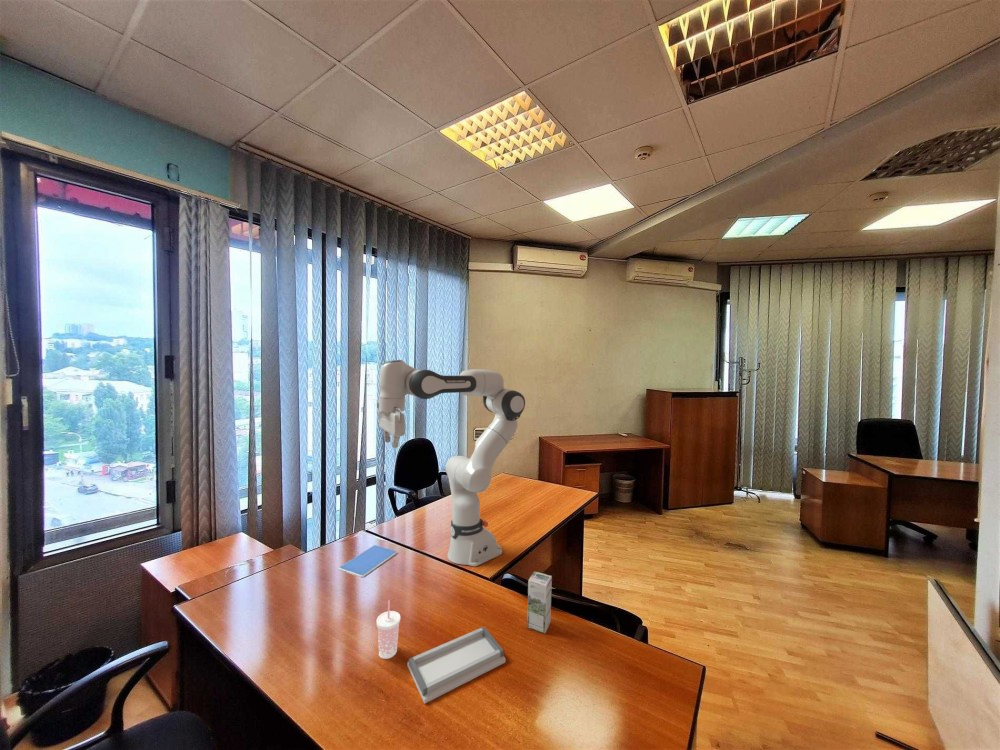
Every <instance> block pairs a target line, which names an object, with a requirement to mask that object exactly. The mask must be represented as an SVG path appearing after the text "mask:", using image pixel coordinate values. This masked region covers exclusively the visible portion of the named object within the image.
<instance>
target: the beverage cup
mask: <svg viewBox="0 0 1000 750" xmlns="http://www.w3.org/2000/svg"><path fill="white" fill-rule="evenodd" d="M390 604H391V600H390V599H387V611H385V612H382V613H380V614H379V615H378V616H377V618H376V627H377V635H378V636H377V639H378V640H377V641H378V656H379V657H380V658H381V659H384V660H385V659H386V660H387V659H391V658H393V657H394V656H395V655H396V654H397V652H398V640H399V630H400V628H399V627H400V622H401V614H400V612H397V611H395V610H390V608H391V605H390Z"/></svg>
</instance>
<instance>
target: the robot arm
mask: <svg viewBox="0 0 1000 750" xmlns="http://www.w3.org/2000/svg"><path fill="white" fill-rule="evenodd" d="M379 370H380V371H379V384H378V386H379V390H380V392H379V396H378V402H376V409H377V412H378V413H377V414H378V425H379V428H380V429H381V430H383V431H382V432H383V436H384V442H385V443H390V442H391V441H392V442H391V447H393V448H394V449H396V448H397V449H398V448H399V443H400V439H401V437H404V436H405V434H406V419H405V418H406V417H405V414H404V413H403V412H404V411H406V410H405V409H406V395H411V396H413V397H417V398H419V399H422V400H430V399H432V398H435V397H437V396H439V395H441V394H451V393H453V394H454V393H456V394H457V393H460V394H461V395H463V396H468V397H482V404H483V407H484V408H485V409H486V410H487V411H488V412H491V413H495V415H494V418H493V420H492V422H491V423H490V424H489V425H488V426H487V427H486V428H485V430H483V432H482V433H481V435H479V437H478V438H477V440H476V441H475V442H474V450H473V452H472V454H471V456H470V457H467V456H464V455H454V456H451V457H450V458H449V459H448V460H447V461H446V464H445V468H444V470H445V473H446V475H447V478H448V482H449V484H448V485H449V487H450V495H451V499H452V500H451V501H452V503H451V506H452V509H451V515H452V516H451V521H450V543H449V547H448V551H447V555H446V557H447V559H448V561H450V562H452V563H453V564H454V563H455V564H458V565H464V566H465V565H467V566H470V567H477V566H480V565H482V564H484V563H486V562H488V561H490V560H493V559H494V558H497V557H499V556H500V555H502V554H503V549H502V547H501V546H500V545H499V544H498V542H497V539H496V537H495V535H494V534H493V533H492V532H491V531H490V530H488V529H487V527H488V526H489V522H488V521H486V520H483V519H482V518H481V516H480V515H481V514H480V513H481V501H480V497H479V495H478V494H480V493H483V492H486V490H487V489H488V488H489V487H490V484H491V482H492V476H491V474H492V469H493V466H494V465H495V462H496V460H497V459H498V457H499V456H500V454H501V453H502V452H503V450H505V448H506V447H507V446H508V444H509V443H510V442H511V440H512V438H513V437H514V435H515V434H516V431H517V429H518V427H519V426H518V425H519V424H518V421H517V420H518V419H520V418H521V415H522V413H523V411H524V410H525V407H526V400H525V397H524V395H523V394H522V393H521V392H518V390H517V391H516V390H512V389H509V388H505V387H504V384H505V383H504V378H503V376H502V374H501V373H499V372H498V371H494V370H490V369H484V368H483V369H482V368H478V369H477V368H474V369H473V368H472V369H467V370H463V371H462V372H461V373H460V374H459V375H458V374H457V375H444V374H443V375H442V374H439V373H437V372H435V371H433V370H430V369H417V368H415V367H412V366H410V365H409V364H408V363H406V362H405V361H404V360H402V359H396V360H395V359H394V360H388V361H385V362H383V363H382V364H381V366H380V369H379ZM391 436H392V437H391ZM391 438H392V440H391Z"/></svg>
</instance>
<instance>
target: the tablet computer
mask: <svg viewBox="0 0 1000 750" xmlns="http://www.w3.org/2000/svg"><path fill="white" fill-rule="evenodd" d="M397 554H398V551H397V550H394V549H390V548H386V547H385V546H384V547H383V546H380V545H377V544H374V545H372V546H370V547H369V548H367V549H366V550H364V551H363V552H361V553H360V554H358V555H356V556H355V557H353V558H352V559H350V560H348V561H347V562H345V563H343V564H342V565H340V566H339V567H338V569H337V570H338V571H341V572H343V573H346V574H350V575H352V576H356V577H358V578H360V579H361V578H366V577H367V576H368V575H370V573H372V572H373V571H374V570H376V569H377V568H379V567H380V566H381V565H383V564H384V563H385V562H387V561H388V560H390V559H392V558H393V557H395V556H396V555H397Z"/></svg>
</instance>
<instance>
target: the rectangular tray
mask: <svg viewBox="0 0 1000 750" xmlns="http://www.w3.org/2000/svg"><path fill="white" fill-rule="evenodd" d="M406 662H407V663H406V664H407V668H408V670H409V672H410V675H411V676H412V679H413V681H414V684H415V686H416V688H417V690H418V692H419V695H420V697H421V700H422V702H423V703H424V704H427V703H429V702H431V701H433V700H435V699H436V698H439V697H441V696H442V695H444V694H447V693H448V692H451V691H453V690H454V689H456V688H459V687H460V686H462V685H465V684H466V683H468V682H470V681H472V680H473V679H476V678H477V677H479V676H482V675H483V674H486V673H487V672H489V671H491V670H493V669H495V668H497V667H499V666H501V665H503V664H506V657H505V656H504V649H503V648H502V646H501V645H500V644H499V643H498V641H497V640H496V638H494V636H493V635H492V634H491V633H490V632H489V630H488V629H487V627H485V626H482V627H479V628H478V629H475V630H473V631H471V632H468V633H466V634H464V635H461V636H459V637H457V638H456V637H455V638H454V639H451V640H450V641H448V642H445V643H442V644H440V645H438V646H436V647H433V648H431V649H429V650H426V651H423V652H421V653H420V654H417V655H415V656H412V657H410V658H408V661H406Z"/></svg>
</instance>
